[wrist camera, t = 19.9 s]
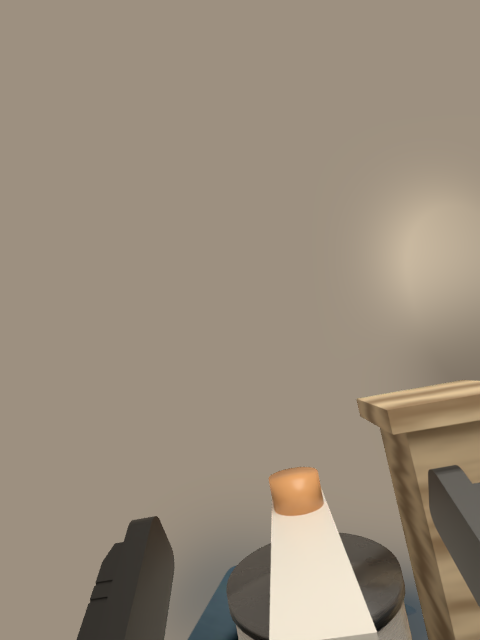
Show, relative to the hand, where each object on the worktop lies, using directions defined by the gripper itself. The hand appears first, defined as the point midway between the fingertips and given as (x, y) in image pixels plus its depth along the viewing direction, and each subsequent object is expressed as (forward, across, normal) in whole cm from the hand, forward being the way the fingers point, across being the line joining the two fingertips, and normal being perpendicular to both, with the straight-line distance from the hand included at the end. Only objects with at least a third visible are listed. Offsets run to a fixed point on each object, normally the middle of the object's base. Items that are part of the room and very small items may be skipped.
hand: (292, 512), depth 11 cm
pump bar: (+8, 0, +17) cm, 19 cm away
